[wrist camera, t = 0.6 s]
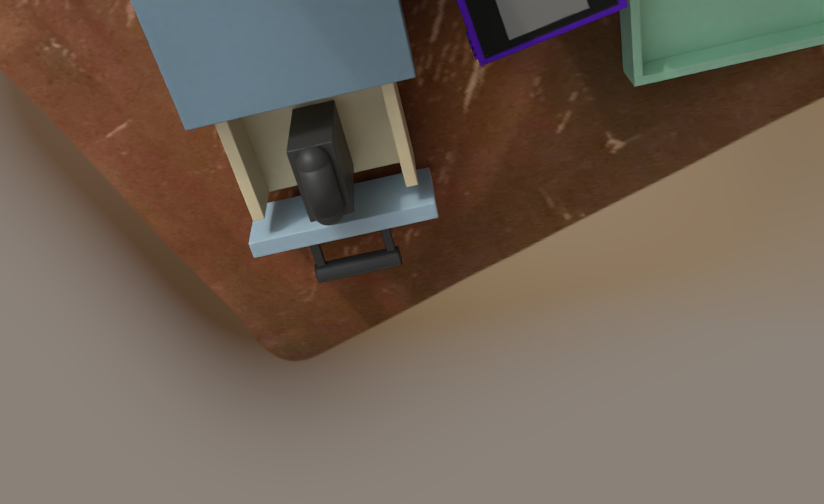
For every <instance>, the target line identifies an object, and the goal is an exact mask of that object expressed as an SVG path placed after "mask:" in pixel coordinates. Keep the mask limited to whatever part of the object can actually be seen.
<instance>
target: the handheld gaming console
mask: <svg viewBox="0 0 824 504" xmlns="http://www.w3.org/2000/svg"><path fill="white" fill-rule="evenodd" d="M457 3H458V6H459V9H460V11H461V14H462V17H463V20H464V22H465V25H466V28H467V31H468V32H466V35H467V38H468V40H469V43H470V46H471V48H472V51H473V54H474V57H475V59H476V60H477V59H478V61H479V63H480V65H481V66H483V65H485V64H488V63H490V62H493V61H495V60H498V59H500V58H503V57H505V56H508V55H510V54H513V53H515V52H518V51H520V50H523V49H525V48H528V47H530V46H533V45H535V44H538V43H540V42H543V41H545V40H548V39H550V38H553V37H555V36H558V35H560V34H563V33H565V32H568V31H570V30H573V29H575V28H578V27H580V26H583V25H585V24H588V23H590V22H593V21H595V20H598V19H600V18H603V17H605V16H607V15H610V14H612V13H615V12H617V11H620V10H622V9H625V8H627V7H628V4H627V0H457Z"/></svg>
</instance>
